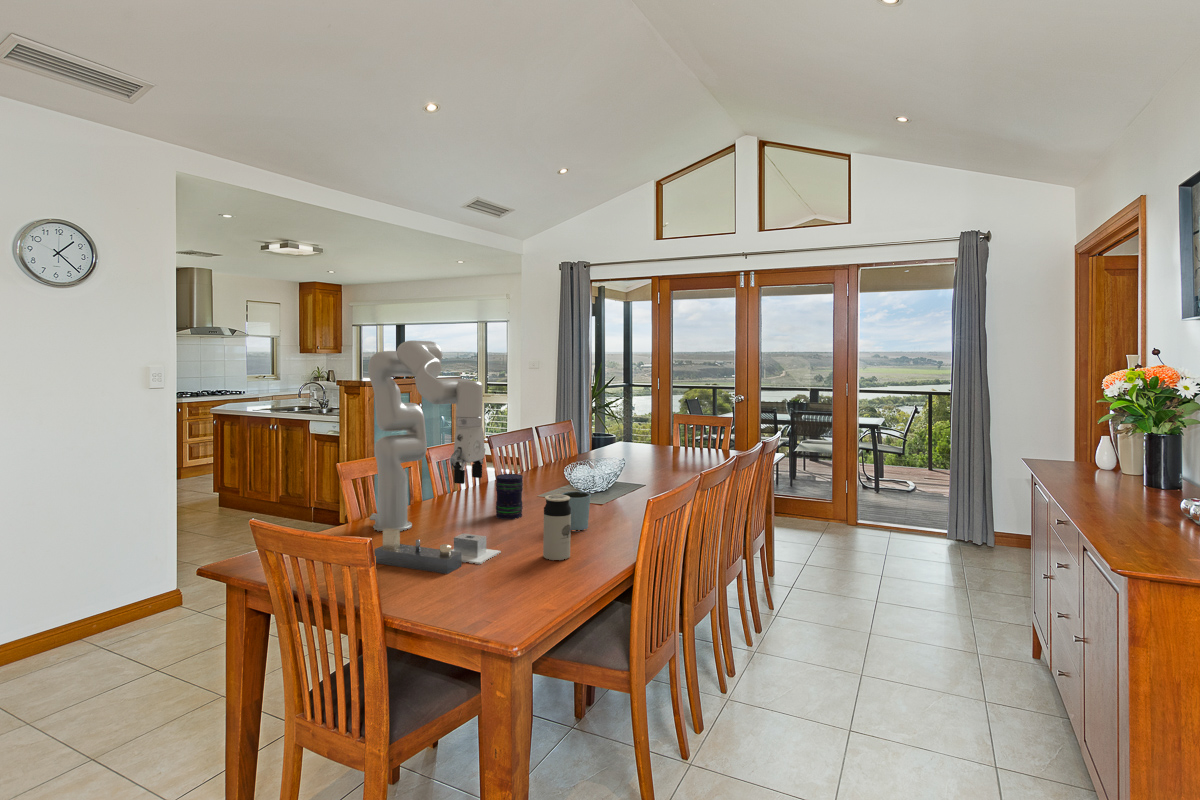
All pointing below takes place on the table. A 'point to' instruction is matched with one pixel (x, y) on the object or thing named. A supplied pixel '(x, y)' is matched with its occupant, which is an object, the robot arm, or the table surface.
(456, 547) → the grey rectangular block
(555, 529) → the travel mug
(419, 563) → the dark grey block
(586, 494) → the blue grey cup
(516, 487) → the storage jar
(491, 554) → the mat
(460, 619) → the table surface
